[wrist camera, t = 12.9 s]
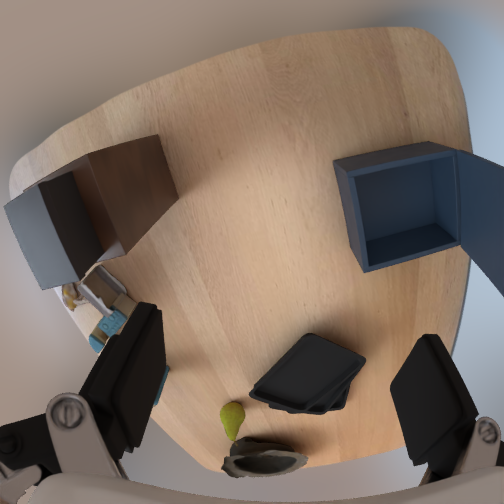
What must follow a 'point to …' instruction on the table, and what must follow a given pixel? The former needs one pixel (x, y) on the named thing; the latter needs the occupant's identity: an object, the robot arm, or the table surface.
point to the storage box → (400, 203)
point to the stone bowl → (261, 459)
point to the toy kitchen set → (113, 324)
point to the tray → (310, 377)
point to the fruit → (232, 419)
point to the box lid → (483, 214)
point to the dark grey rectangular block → (54, 231)
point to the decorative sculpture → (95, 291)
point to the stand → (122, 191)
